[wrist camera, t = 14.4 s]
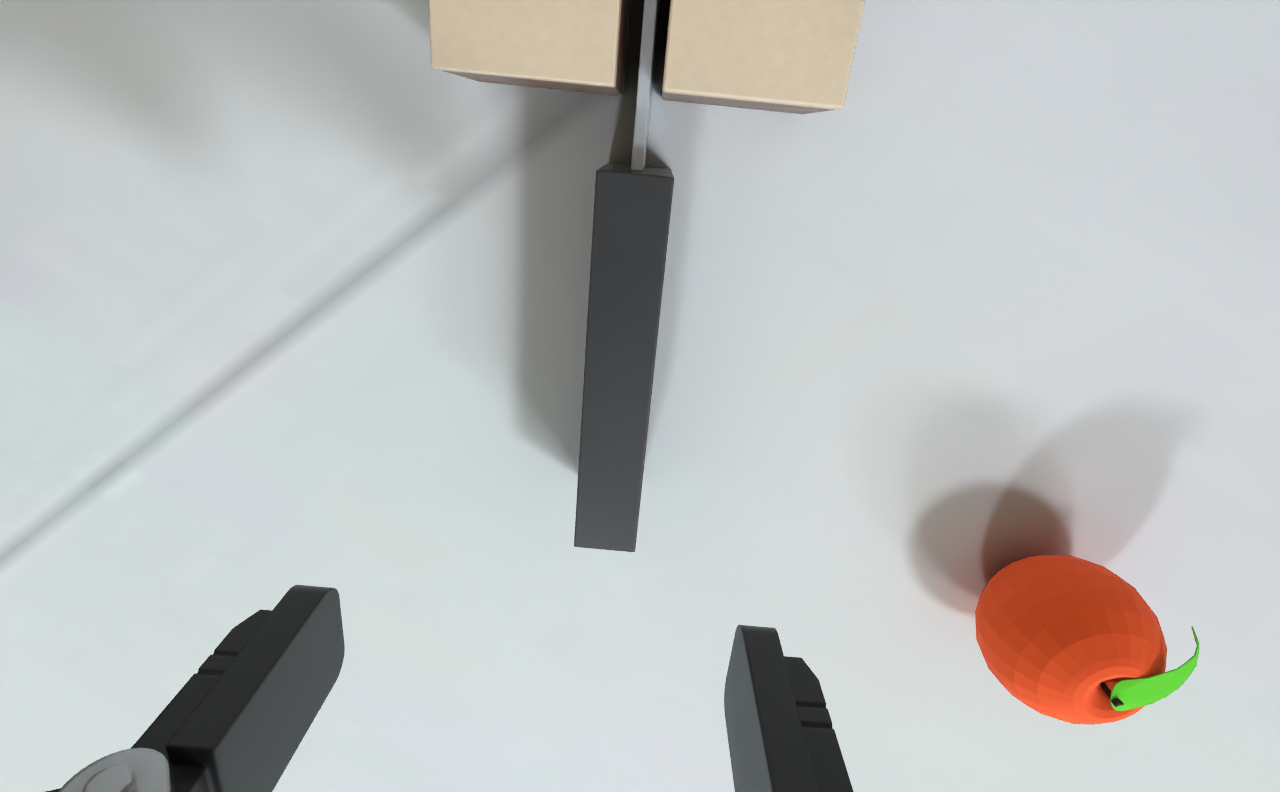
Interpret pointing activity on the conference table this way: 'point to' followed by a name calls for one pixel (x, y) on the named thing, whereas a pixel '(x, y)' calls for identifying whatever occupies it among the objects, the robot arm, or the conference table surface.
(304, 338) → the conference table surface
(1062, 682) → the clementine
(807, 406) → the conference table surface
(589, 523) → the knife
